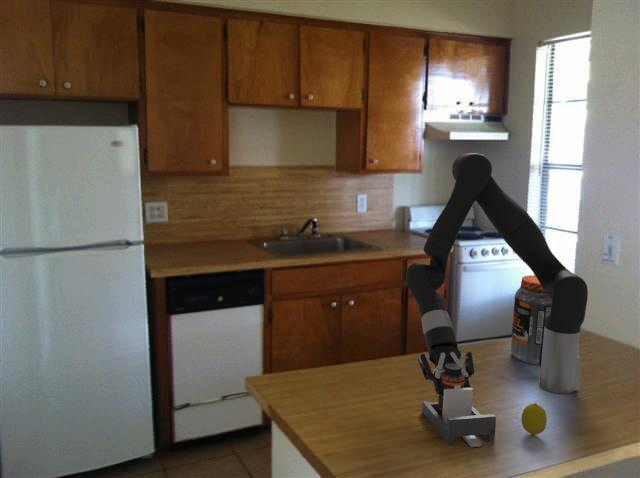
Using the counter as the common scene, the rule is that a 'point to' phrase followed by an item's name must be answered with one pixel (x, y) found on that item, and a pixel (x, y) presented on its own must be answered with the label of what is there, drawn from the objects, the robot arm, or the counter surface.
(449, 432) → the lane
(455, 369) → the supplement bottle
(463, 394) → the plate
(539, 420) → the lemon
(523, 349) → the supplement tub
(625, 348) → the counter surface
